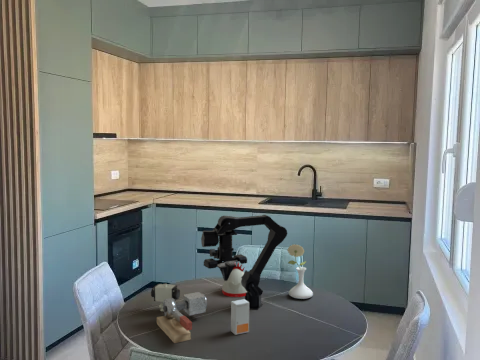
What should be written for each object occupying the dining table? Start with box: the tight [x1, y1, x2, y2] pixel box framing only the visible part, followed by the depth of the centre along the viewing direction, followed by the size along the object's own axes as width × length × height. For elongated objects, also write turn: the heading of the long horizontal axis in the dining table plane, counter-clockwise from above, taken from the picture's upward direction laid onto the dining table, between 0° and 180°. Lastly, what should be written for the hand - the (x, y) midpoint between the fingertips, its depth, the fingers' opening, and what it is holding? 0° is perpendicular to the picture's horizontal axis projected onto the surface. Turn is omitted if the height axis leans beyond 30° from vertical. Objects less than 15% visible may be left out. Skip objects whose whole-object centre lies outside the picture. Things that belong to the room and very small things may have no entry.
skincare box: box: [230, 298, 250, 336], centre depth 172 cm, size 6×4×12 cm
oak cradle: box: [156, 315, 192, 344], centre depth 173 cm, size 7×20×5 cm, turn 29°
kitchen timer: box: [221, 262, 247, 298], centre depth 217 cm, size 14×14×15 cm
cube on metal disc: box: [182, 291, 208, 316], centre depth 185 cm, size 8×7×7 cm
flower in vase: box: [286, 243, 314, 300], centre depth 211 cm, size 13×11×25 cm
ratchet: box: [163, 298, 193, 331], centre depth 174 cm, size 10×24×8 cm, turn 29°
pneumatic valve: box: [150, 283, 181, 313], centre depth 194 cm, size 6×12×12 cm, turn 76°
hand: (225, 280), depth 194 cm, fingers closed
